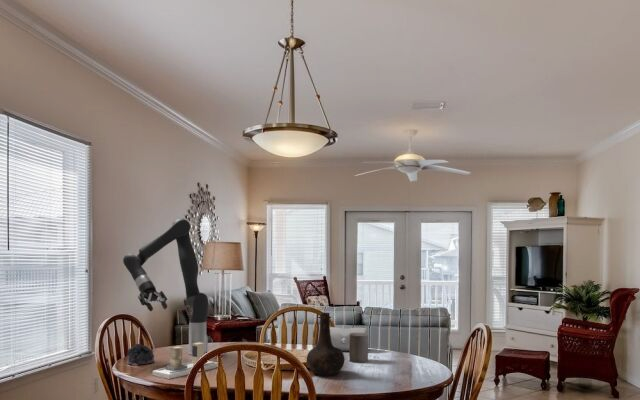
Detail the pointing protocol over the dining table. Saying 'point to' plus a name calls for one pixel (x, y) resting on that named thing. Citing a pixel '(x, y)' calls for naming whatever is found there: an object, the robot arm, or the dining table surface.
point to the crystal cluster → (139, 355)
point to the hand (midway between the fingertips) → (159, 309)
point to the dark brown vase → (325, 351)
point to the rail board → (185, 364)
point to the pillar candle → (358, 347)
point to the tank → (344, 336)
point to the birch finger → (176, 357)
